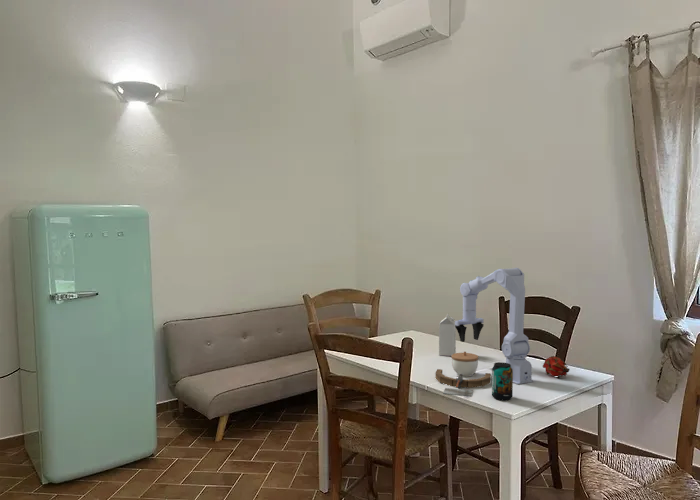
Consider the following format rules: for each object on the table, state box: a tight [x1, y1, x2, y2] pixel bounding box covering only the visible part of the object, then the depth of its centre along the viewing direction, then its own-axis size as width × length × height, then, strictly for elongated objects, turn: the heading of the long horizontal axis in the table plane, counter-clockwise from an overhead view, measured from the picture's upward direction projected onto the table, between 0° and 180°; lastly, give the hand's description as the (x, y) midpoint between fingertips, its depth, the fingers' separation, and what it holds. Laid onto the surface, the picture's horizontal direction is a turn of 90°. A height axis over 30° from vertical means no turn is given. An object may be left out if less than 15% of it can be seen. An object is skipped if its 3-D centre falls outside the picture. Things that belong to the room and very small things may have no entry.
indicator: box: [455, 374, 464, 388], centre depth 194 cm, size 15×2×2 cm, turn 162°
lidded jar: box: [451, 351, 479, 378], centre depth 213 cm, size 11×11×9 cm
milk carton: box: [438, 313, 457, 357], centre depth 246 cm, size 7×7×19 cm
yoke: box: [434, 368, 492, 397], centre depth 199 cm, size 23×21×2 cm
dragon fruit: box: [542, 355, 571, 377], centre depth 210 cm, size 8×8×12 cm
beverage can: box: [491, 361, 513, 401], centre depth 184 cm, size 7×7×12 cm
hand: (469, 340), depth 231 cm, fingers open, 7 cm apart
